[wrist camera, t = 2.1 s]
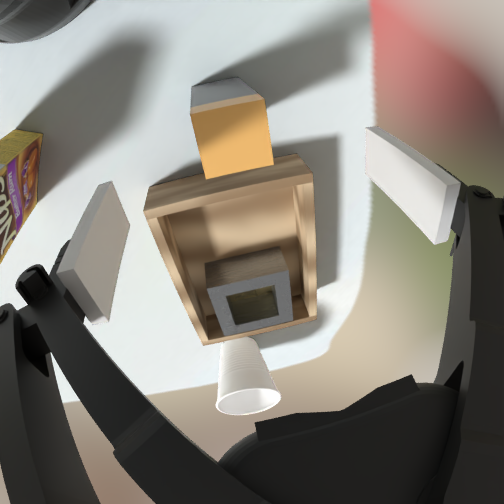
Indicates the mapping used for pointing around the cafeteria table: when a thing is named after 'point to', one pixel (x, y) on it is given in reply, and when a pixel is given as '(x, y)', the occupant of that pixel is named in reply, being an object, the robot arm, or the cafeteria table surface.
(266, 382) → the cup
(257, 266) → the frame
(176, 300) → the cafeteria table surface
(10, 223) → the candy box
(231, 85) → the connector
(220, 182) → the tray
